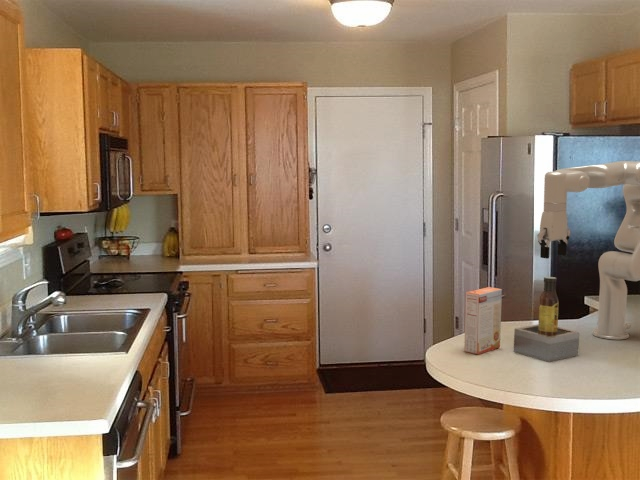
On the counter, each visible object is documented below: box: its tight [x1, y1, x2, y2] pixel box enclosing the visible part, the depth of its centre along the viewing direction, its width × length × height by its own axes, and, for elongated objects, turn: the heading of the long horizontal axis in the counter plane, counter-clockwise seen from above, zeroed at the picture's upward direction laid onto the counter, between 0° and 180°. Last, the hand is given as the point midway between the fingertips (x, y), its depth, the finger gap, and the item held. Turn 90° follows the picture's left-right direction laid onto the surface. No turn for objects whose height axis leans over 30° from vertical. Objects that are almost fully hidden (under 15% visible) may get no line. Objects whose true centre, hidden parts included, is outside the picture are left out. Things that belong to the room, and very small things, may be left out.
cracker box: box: [463, 286, 503, 356], centre depth 268 cm, size 14×6×21 cm, turn 134°
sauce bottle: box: [537, 276, 560, 336], centre depth 264 cm, size 6×6×20 cm
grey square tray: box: [513, 323, 580, 363], centre depth 266 cm, size 17×15×8 cm
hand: (553, 256), depth 273 cm, fingers open, 9 cm apart
